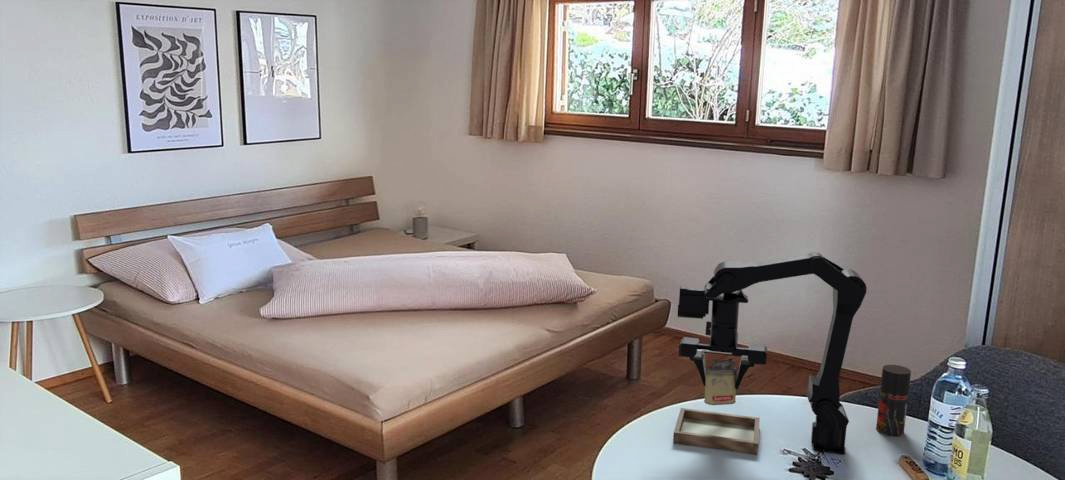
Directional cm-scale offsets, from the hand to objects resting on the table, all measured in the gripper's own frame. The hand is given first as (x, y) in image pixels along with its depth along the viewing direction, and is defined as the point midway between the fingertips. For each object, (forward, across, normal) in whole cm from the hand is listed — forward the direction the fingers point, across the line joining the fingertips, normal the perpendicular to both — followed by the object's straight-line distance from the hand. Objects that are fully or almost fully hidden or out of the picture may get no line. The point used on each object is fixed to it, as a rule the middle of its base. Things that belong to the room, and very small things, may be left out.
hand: (720, 387), depth 188 cm
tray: (+12, 0, 0) cm, 12 cm away
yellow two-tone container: (+4, 0, 0) cm, 4 cm away
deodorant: (+12, -38, -15) cm, 42 cm away
